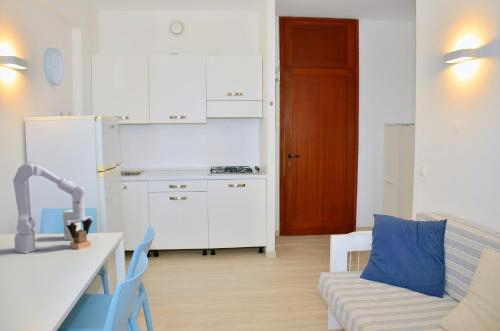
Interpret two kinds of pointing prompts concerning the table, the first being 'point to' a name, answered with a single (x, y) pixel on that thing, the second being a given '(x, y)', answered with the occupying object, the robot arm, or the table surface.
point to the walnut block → (80, 236)
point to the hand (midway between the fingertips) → (80, 235)
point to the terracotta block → (80, 245)
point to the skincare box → (67, 235)
